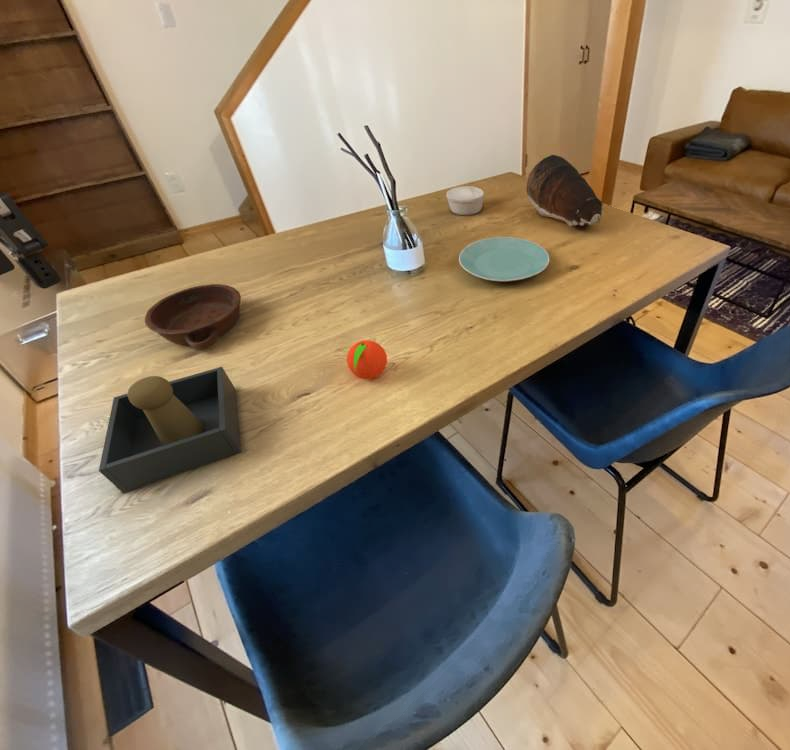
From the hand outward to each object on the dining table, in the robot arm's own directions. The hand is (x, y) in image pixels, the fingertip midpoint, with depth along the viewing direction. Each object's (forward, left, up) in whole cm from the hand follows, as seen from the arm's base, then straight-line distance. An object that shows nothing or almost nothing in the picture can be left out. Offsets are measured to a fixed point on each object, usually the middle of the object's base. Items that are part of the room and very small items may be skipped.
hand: (27, 278), depth 51 cm
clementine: (+34, -3, -28) cm, 44 cm away
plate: (+74, +21, -28) cm, 82 cm away
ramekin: (+80, +58, -28) cm, 103 cm away
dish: (+7, +29, -28) cm, 41 cm away
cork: (+4, -3, -28) cm, 28 cm away
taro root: (+103, +37, -28) cm, 113 cm away
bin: (+4, -3, -28) cm, 29 cm away
